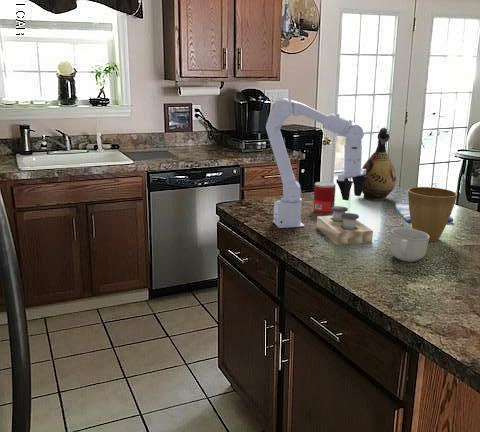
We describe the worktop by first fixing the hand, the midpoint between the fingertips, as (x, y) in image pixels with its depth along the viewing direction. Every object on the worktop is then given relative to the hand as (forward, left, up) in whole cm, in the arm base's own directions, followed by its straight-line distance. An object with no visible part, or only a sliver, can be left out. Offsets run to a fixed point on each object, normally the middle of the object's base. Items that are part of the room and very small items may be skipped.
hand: (351, 197), depth 183 cm
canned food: (-2, +21, -11) cm, 23 cm away
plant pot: (+20, -17, -11) cm, 28 cm away
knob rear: (-6, -4, -7) cm, 10 cm away
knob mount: (-6, -9, -10) cm, 15 cm away
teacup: (+3, -34, -11) cm, 36 cm away
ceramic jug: (+28, +38, -11) cm, 48 cm away
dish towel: (+34, +10, -11) cm, 37 cm away
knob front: (-6, -13, -7) cm, 16 cm away
